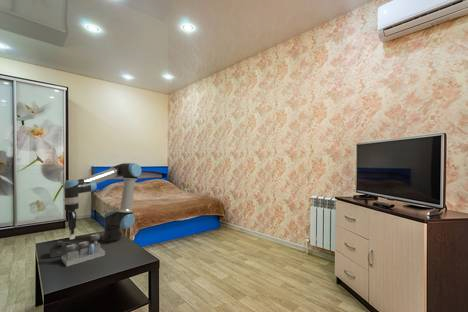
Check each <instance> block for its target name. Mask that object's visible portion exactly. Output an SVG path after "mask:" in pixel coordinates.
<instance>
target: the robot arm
mask: <svg viewBox="0 0 468 312" xmlns="http://www.w3.org/2000/svg"><path fill="white" fill-rule="evenodd" d="M141 175H142V167H141V166H140V164H138V163H133V162H129V163H128V162H126V163H120V164H118V165H114V166H111V167H109V169H106V170H104V171H101V172H98V173H94V174H91V175H88V176H86V177H83V178H80V179H69V180H65V181H64V186H63V189H64V199H63V201H64V211H67V213H66V214H67V223H68V225H67V227H68V231H69V234H68V236H69V240H74V239H76V230H75V229H76V227H77V212H76V210H79V206H80V205H79V202H80V201H79V200H80V199H79V194H83V193H84V194H85V193H92V192H95V191H96V190H97V184H99V183H102V182H105V181H108V180H109V179H112V178H113V179H117V178H121V177H122V179H123V180H124V181H123V187H122V192H121V200H120V208H119V209H118V210H111V211H107V212H105V213H104V217H103V219H104V231H103V234H102V236H101V240H102V241H103V242H114V241H118V240H120V239H122V238H123V232H122V229H130V228H132V226H133V225H134V224H135V220H136V217H135V215H134V214H133V213H134V212H133V210H132V205H133V200H134V194H135V187H136V185H135V184H136V181H137V180H138V178H139V177H140V176H141Z"/></svg>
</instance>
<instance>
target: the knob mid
mask: <svg viewBox="0 0 468 312" xmlns="http://www.w3.org/2000/svg"><path fill="white" fill-rule="evenodd" d="M89 241H90V240H89ZM89 241H88V240H86V241H85V240H84V241H80V242H79V243H78V249H79V248H80V249H83V248H87V247H89V248H90V242H89Z"/></svg>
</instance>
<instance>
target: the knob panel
mask: <svg viewBox="0 0 468 312" xmlns="http://www.w3.org/2000/svg"><path fill="white" fill-rule="evenodd" d="M101 245H102V244H101V243H100V242H97V245H94V253H93V254H90V246H89V247H87V248H83V249H80V248H79V247H78V250H77V249H76V250H75V251H71V252H67V251H66V255H62V256H61V261H62V263H63V264H64V265H65V267H69V266H73V265H76V264H77V265H78V264H79V263H80V264H81V263H84V262H87V261H89V260H93V259H97V258H101V257H103V256H106V250H105V249H103V248H102V247H101Z"/></svg>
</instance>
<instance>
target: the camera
mask: <svg viewBox="0 0 468 312" xmlns="http://www.w3.org/2000/svg"><path fill="white" fill-rule="evenodd" d="M70 244H74V243H73V242H70V241H63V240H58V241H57V242H56V243H55V244H54V245H52V246H51V247H50V250H49V258H52V259H53V258H58V257H62V255H66V246H68V245H70Z"/></svg>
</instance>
